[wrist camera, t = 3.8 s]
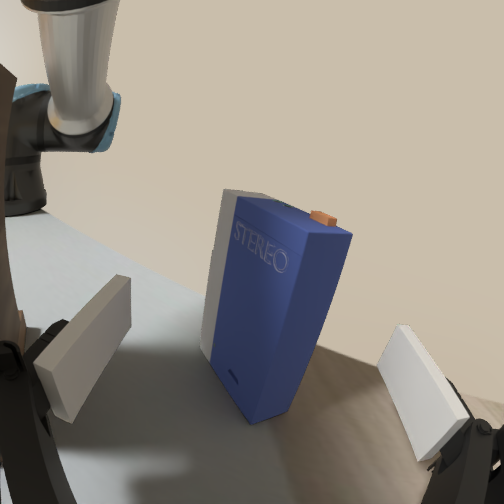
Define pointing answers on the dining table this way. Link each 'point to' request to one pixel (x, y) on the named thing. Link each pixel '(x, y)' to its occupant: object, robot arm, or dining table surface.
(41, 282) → the dining table surface
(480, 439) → the robot arm
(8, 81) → the book end
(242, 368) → the walkman
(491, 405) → the dining table surface
